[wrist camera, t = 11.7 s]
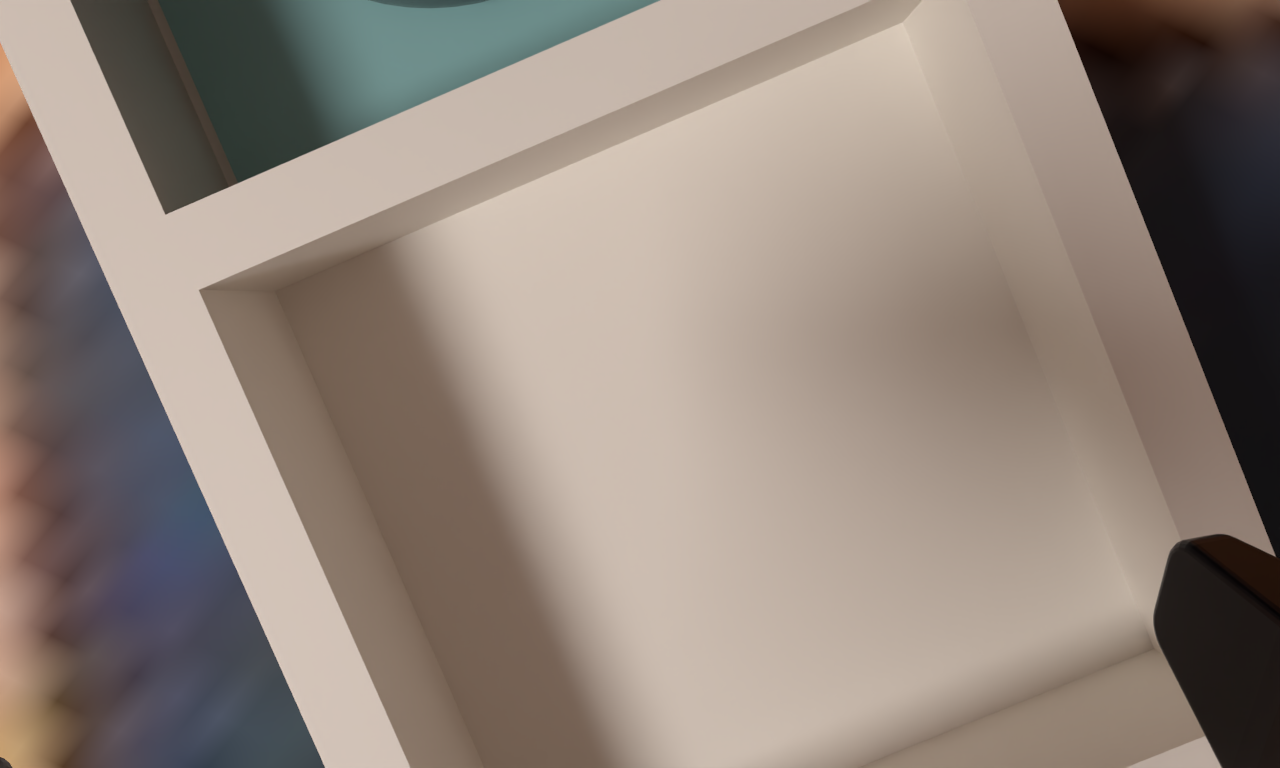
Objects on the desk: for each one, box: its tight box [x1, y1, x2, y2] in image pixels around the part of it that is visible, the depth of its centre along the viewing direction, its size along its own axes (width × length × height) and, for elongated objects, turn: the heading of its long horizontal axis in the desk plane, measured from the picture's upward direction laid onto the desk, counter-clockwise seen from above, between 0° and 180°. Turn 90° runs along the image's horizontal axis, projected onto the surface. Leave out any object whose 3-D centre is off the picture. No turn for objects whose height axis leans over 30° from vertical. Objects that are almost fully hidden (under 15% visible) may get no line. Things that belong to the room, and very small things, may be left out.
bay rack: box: [0, 0, 1276, 768], centre depth 16 cm, size 23×12×4 cm, turn 23°
